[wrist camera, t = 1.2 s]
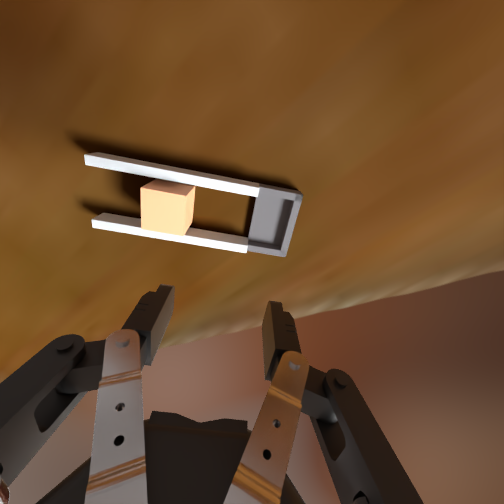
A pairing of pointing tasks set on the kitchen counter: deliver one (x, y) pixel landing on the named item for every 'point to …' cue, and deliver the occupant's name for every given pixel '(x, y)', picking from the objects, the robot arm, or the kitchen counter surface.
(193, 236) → the channel
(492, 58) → the kitchen counter surface
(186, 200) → the block
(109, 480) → the robot arm
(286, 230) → the tray
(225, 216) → the kitchen counter surface
